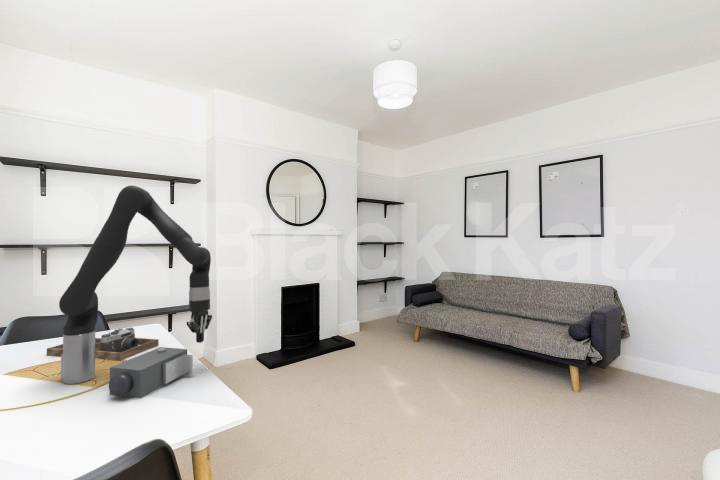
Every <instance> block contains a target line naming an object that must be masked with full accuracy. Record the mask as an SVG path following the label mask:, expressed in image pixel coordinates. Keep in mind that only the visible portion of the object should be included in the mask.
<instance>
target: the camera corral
mask: <svg viewBox="0 0 720 480" xmlns="http://www.w3.org/2000/svg"><path fill="white" fill-rule="evenodd" d="M136 338H137V339H138V340H139V345H138V346H137V347H134V348H131V349H129V350H124V351H121V352H108V351H101V348H99V349H96V350H95V359H98V360H99V359H100V360H111V361H112V360H113V361H123V360H125V359H128V358H130V357H133V356H136V355H138V354H141V353H144V352H147V351H148V350H151V349H153V348H156V347H158V346H159V340H160V339H158V338H146V337H145V338H143V337H136ZM159 347H160V346H159Z"/></svg>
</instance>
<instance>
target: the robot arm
mask: <svg viewBox="0 0 720 480" xmlns="http://www.w3.org/2000/svg"><path fill="white" fill-rule="evenodd" d="M136 214H140V215H141V216H142V217H144V218H145V219H147V220H148V221H149V222H150V223H151V224H152V225H153V226H154V227H155V229H156V230H157V231H158V232H159V233H160V235H161V236H162V237H163V238H164V239H165V240H166V241H167V242H169V243H170V245H171V246H173V247H174V248H175V249H177V251H178V252H179V253H180V255H181V256H182V257H183V258H184V259H185V261H187V262H188V263H189V264H191V268H192V269H191V273H190V274H189V291H188V311H189V312H191V315H190V319H189V321H186V326H187V327H188V328H189V330H190V332H191V333H193V334H195V340H196V343H198V344H199V343H200V344H201V343H203V342H204V340H205V331H206V330H208V329H209V326H210V324H211V321H212V318H213V315H212V314H209V310H210V309H211V290H210V289H211V288H210V268H211V260H212V259H211V252H210V251H209V250H208V248H206V247H202V246H201V247H200V246H199V245H198V244H197V243H195V241H194V239H193V237H192V236H191V235H190V234H189V233H188V232H187V231H186V230H185V229H184V228H182V226H181V225H179V224H178V223H177V222H176V221H175V220H173V219H172V218H171V216H169V215H168V214H167V213H166V212H165V211H164V210H163V209H162V207H161V206H160V205H159V204H158V203H157V202H156V200H155V199H154V198H153V197H152V195H151V194H150V192H149V191H147V190H146V189H144V188H143V187H140V186H137V185H127V186H125V187H123V188H122V189H121V190H120V191H119V192H118V195H117V197H116V199H115V202H114V204H113V207H112V208H111V211H110V214H109V216H108V218H107V220H106V221H105V223H104V225H103V226H102V228H101V230H100V231H99V233H98V235H97V237H96V238H95V240H94V241H93V243H92V245H91V247H90V248H89V251H88V253H87V254H86V256H85V257H84V258H85V259H84V260H83V262H82V264H81V266H80V268H79V270H78V272H77V274H76V275H75V277H74V278H73V280H72V281H71V283H70V285H68V287H67V288H66V290H65V291H64V292H63V294H62V296H61V297H60V298H59V304H58V307H59V309H60V312H61V313H62V314H63V315H65V316H67V320H66V321H65V322H66V323H65V324H64V325H63V327H62V344H63V354H62V355H61V357H60V381H61V382H62V383H63V384H64V385H65V384H67V385H74V384H80V383H85V382H87V381H90V380H92V379H94V378H95V377H96V358H95V338H96V325H97V322H98V319H99V318H98V317H99V316H98V315H99V297H98V294H97V292H96V289H97V287H98V285H99V283H100V282H101V280H103V278H104V277H105V276H106V275H107V274H108V273H109V272H110V270H111V269H112V268H113V267H114V265H116V263H117V262H118V260H119V258H120V257H121V255H122V253H123V252H124V249H125V247H126V244H127V238H128V233H129V228H130V225H131V223H132V221H133V219H134V218H135V217H136Z"/></svg>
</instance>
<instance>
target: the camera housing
mask: <svg viewBox="0 0 720 480" xmlns="http://www.w3.org/2000/svg"><path fill="white" fill-rule="evenodd" d="M183 354H184V355H188V349H187V348H175V347H165V346H159V347H157V348H155V349H153V350H151V351H146V353H142V354H140V355H137V356H135V357H133V358H129V359H128V360H125V361H123V362H120V363H117V364H115V365H112V366H110V367H109V381H108V390H109V395H111V396H115V397H120V396H121V397H129V398H137V399H138V398H139V399H141V398H143V397H146V395H149V394H150V393H153V392H154V391H157V390H158V389H159V388H162V387H164V386H165V385H166V384H163V363H165V362H168V361H170V360H172V359H174V358H176V357H178V356H180V355H183ZM182 376H183V375H181V376H179V377H178V378H180V377H182ZM173 381H174V380H172V381H170V382H168V383H171V382H173ZM168 383H167V384H168Z"/></svg>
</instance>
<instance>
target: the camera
mask: <svg viewBox="0 0 720 480" xmlns="http://www.w3.org/2000/svg"><path fill="white" fill-rule="evenodd" d="M100 338H101V351H108V352H120V353H121V352H123V351H126V350H129V349H131V348H134V347H137V346H140V345H139V340H138V339H137V338H138V337H136V334H135V328H133V327H131V326H129V327H126V328H125V329H123V327H122V328H117V329H114V331H108V333H105V334H102V335H101V337H100Z"/></svg>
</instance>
